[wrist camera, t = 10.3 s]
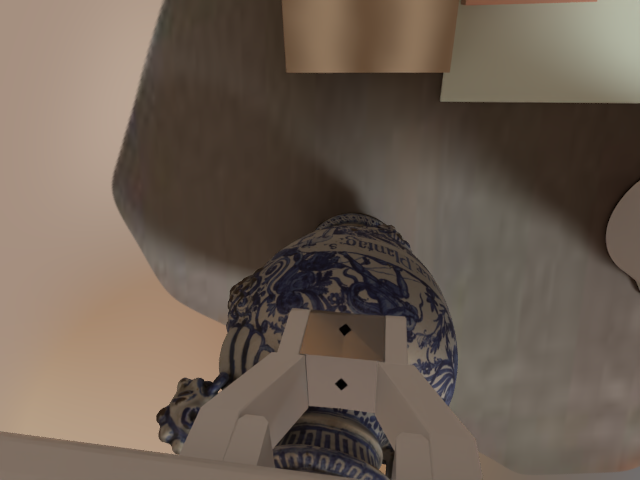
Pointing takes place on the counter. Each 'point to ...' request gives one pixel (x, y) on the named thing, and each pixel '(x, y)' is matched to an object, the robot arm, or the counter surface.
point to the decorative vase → (336, 296)
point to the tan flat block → (369, 35)
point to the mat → (546, 53)
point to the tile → (517, 1)
